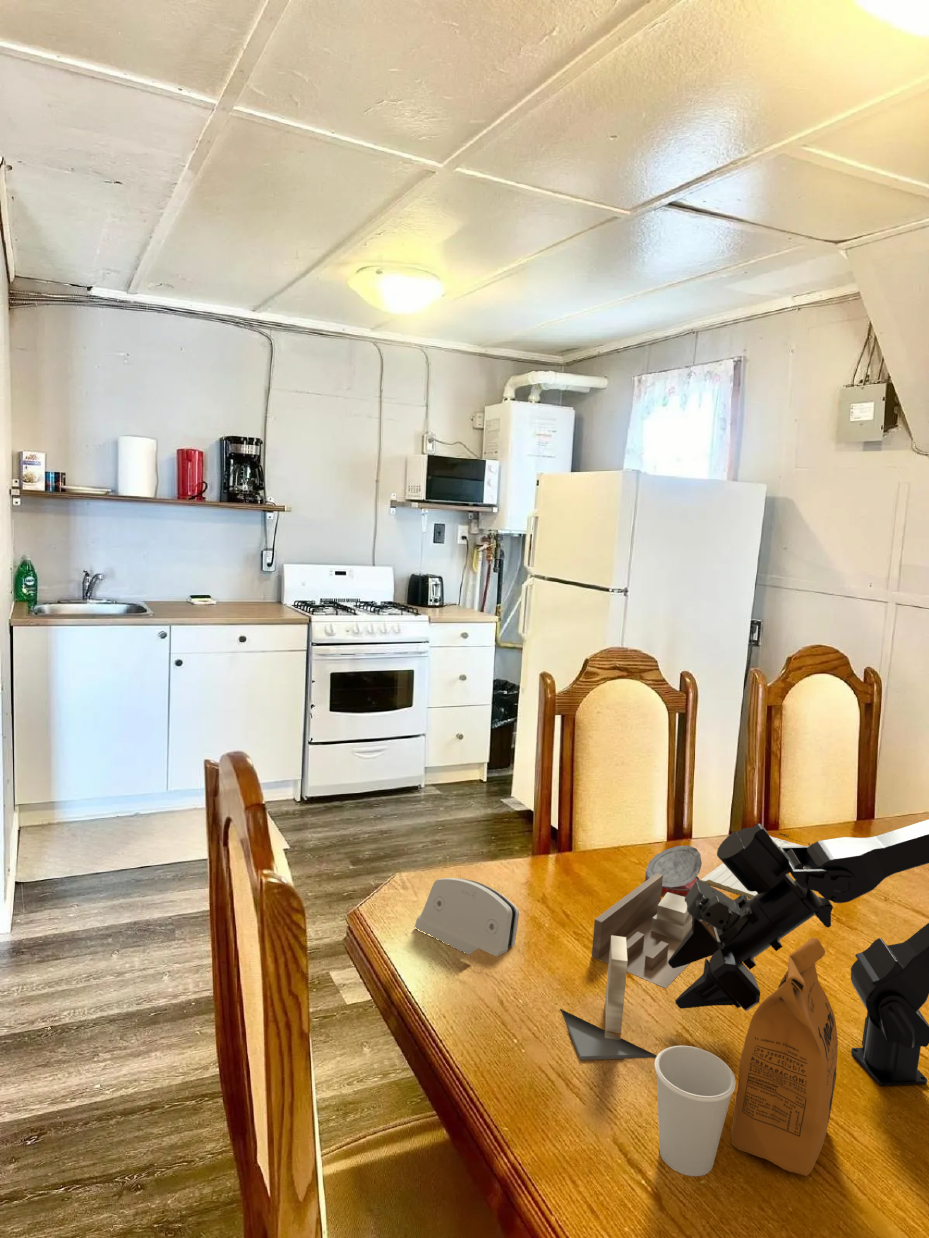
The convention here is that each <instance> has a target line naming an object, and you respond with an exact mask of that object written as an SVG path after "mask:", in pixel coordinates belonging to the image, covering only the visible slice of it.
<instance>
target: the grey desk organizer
mask: <svg viewBox="0 0 929 1238" xmlns="http://www.w3.org/2000/svg"><path fill="white" fill-rule="evenodd" d="M662 881H663V875H661V874H659V873H656V874H654V875H653V876H652V877H650V878H649V879H648V880H646V881H645V880H644V882H642V883H641V884H640V885H639V886H637V887H636V888H634V889H633V890H632V891H630V892H629V893H628V894H627V895H625V896H624V897H622V898H621V899H620V900H618V901H617V902H616V903H615V904H613V905H611V906H610V907H609V908H608V909H606V910H605V911H604V912H603V913H601V914H600V915H599V916H596V918H594V921H593V922H594V924H593V925H594V926H593V934H592V935H593V936H592V937H593V938H592V947H591V958H594V959H595V960H598V961H600V962H603V963H605V964H607V965H608V964H609V953H610V941H611V935H613V936H620V937H626V945H627V960H628V962H627V974H628V973H629V974H631V975H633V976H635V977H639V978H641V979H642V980H645V981H648V982H650V983H652V984H654V985H657V986H659V987H660V988H663V989H667V988H668V987H669V986H670V985H671V984H672V983H673V982H674V981H675V980H676V979H677V977H679V975H681V973H683V972H684V971H685V969H686V968H687V967H688V966H689V965H690V964H691V963H689V964H687V965H684V966H680V967H677V968H672V967H671V966H670V965H669V964H668V961H669V959H670V958H671V956H672V955H673V954H674V952H675V951H676V950H677V948H678V947H679V945H680V944H681V943H682V942H680V941H677V940H674V939H672V938H669V937H667V936H664V935H662V934H659V933H656V932H654V931H651V928H652V918H653V917H654V916H655V915H656V914H657V907H658V904H659V903H660V901H661V900H662V898H661V897H662V893H661V892H662Z"/></svg>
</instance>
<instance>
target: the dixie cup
mask: <svg viewBox="0 0 929 1238" xmlns="http://www.w3.org/2000/svg"><path fill="white" fill-rule="evenodd" d="M656 1055H657V1057H655V1059H654V1071H655V1073H656V1089H657V1093H656V1094H657V1119H658V1146H659V1147H658V1149H659V1155H660V1157H661V1159H662V1160H663V1161H664V1163H665V1164H666V1165H667V1166H668V1167H670V1168H671V1169H672V1170H673V1171H676V1172H677V1173H679V1174H682V1175H685V1176H687V1177H700V1176H705V1175H707V1174H709V1173H710V1172H711V1171H712V1169H713V1167H714V1163H715V1159H716V1156H717V1152H718V1148H719V1143H720V1140H721V1136H722V1134H723V1129H724V1126H725V1125H724V1124H725V1121H726V1117H727V1114H728V1108H729V1105H730V1102H731V1097H732V1095H733V1093H734V1091H736V1086H737V1082H736V1075H735V1073H734V1071H732V1069H731V1066H729V1065H728V1064H727V1063H726V1062H725V1061H724V1060H723V1059H722V1058H720V1057H719V1056H717V1055H715V1054H714V1053H712V1052H710V1051H708V1050H705V1049H703V1048H700V1047H696V1046H690V1045H673V1046H669V1047H667V1048H664V1049H662V1050H661V1051H660V1052H659V1053H658V1054H656Z"/></svg>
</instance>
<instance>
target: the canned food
mask: <svg viewBox="0 0 929 1238" xmlns="http://www.w3.org/2000/svg"><path fill="white" fill-rule="evenodd" d="M701 857H702V856H701V852H699V850H698V849H697V848H695V847H694V846H691V845H676V846H673V847H671V848H667V849H664V850H663V851H661V852H660V853H657V854H656V855H654V856H653V858H651V860H649V862H648V863H647V864H648V865H647V867H646V871H645V877H644V882H645V881H646V880H648V879H649V878H650V877H652V876H653V875H654V874H656V873H659V874H661V875H663V881H662V892H661V895H662V894H663V895H666V893H667V892H669V893H672V894H676V895H679V896H683V897H686V896H687V894H688V893H689V891H690V889H691V888H692V886H693V885H694V883H695V882H696V880H701V879H700V878H699V877H698V875H699V874H700V872H701V870H702V869H701V868H702V863H703V861H702V858H701Z"/></svg>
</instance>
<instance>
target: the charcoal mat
mask: <svg viewBox="0 0 929 1238" xmlns="http://www.w3.org/2000/svg"><path fill="white" fill-rule="evenodd" d="M560 1012H561V1014H562V1017H563V1019H564V1022H565V1025H566V1028H567V1029H568V1033H569V1034H570V1037H571V1040H572V1043H573V1045H574V1047H575V1050H576V1053H577V1055H578V1057H579V1059H580V1061H586V1060H587V1061H588V1060H589V1061H591V1060H594V1061H595V1060H619V1059H620V1060H622V1059H646V1058H651V1059H652V1058H653V1059H654V1058H656V1057H657V1055H658V1054H655V1053H652V1052H650V1051H649V1050H647V1049H645V1048H642V1047H641V1046H638V1045H636V1044H634V1043H632V1042H630V1041H627V1040H625V1039H623V1038H622V1037H620V1038H621V1039H620V1040H617V1039H610V1038H605V1029H604V1028H601V1027H599V1026H597V1025H595V1024H593V1023H591V1022H590V1021H589V1022H588V1021H587V1020H584V1019H583V1018H581V1017H578V1016H576V1015H574V1014H572V1013H570V1012H568V1011H566V1010H564V1009H562V1008H560Z"/></svg>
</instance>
